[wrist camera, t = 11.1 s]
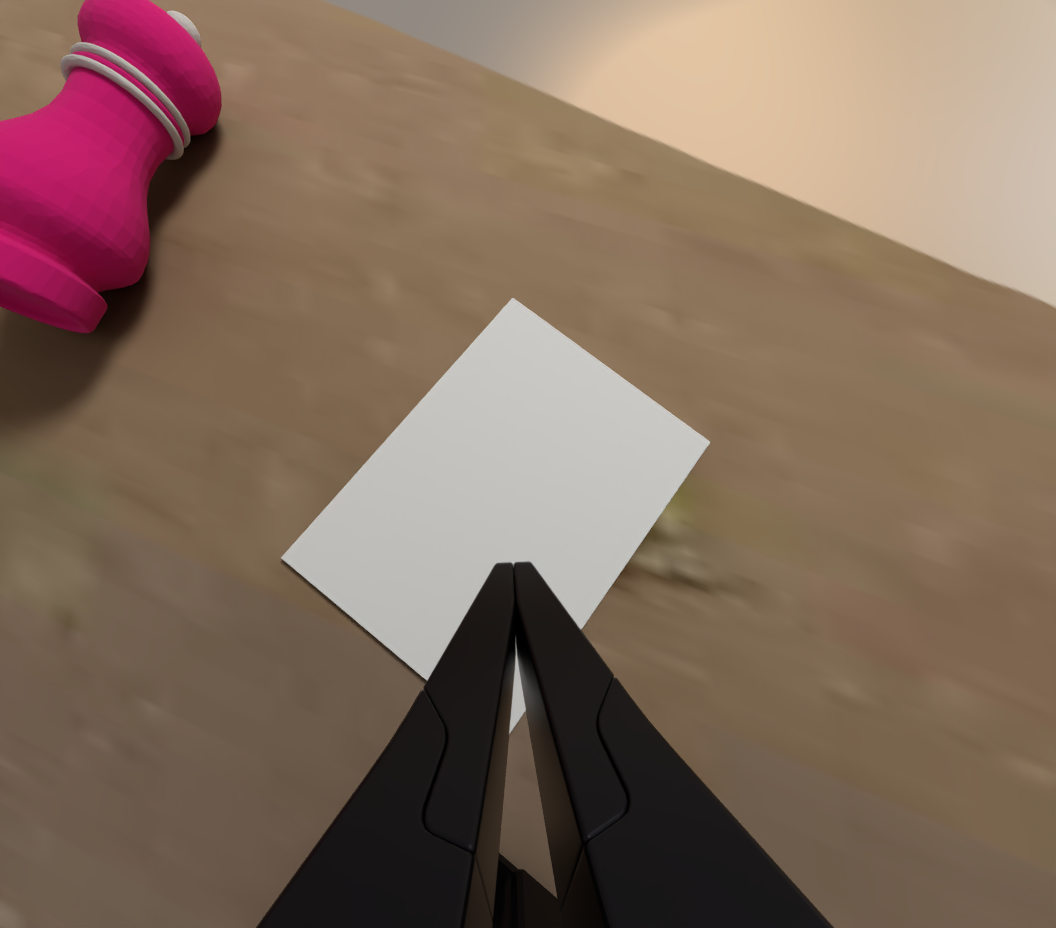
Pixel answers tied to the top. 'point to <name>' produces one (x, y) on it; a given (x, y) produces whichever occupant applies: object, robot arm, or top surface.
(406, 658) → the rubber mat
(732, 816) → the robot arm
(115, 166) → the pepper mill
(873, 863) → the top surface
